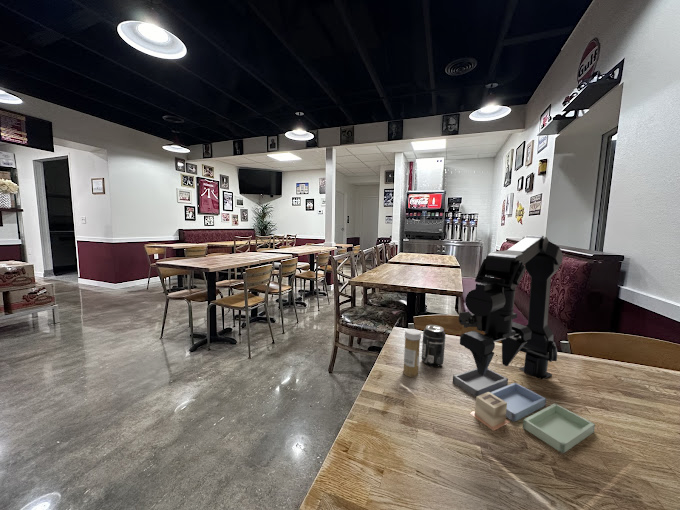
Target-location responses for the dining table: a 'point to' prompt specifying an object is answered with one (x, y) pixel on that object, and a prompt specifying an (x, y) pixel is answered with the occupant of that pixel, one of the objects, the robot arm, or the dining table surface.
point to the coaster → (488, 424)
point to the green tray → (558, 427)
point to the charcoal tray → (480, 381)
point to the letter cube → (490, 409)
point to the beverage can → (433, 345)
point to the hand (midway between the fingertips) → (493, 369)
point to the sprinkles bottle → (411, 352)
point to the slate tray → (519, 400)
